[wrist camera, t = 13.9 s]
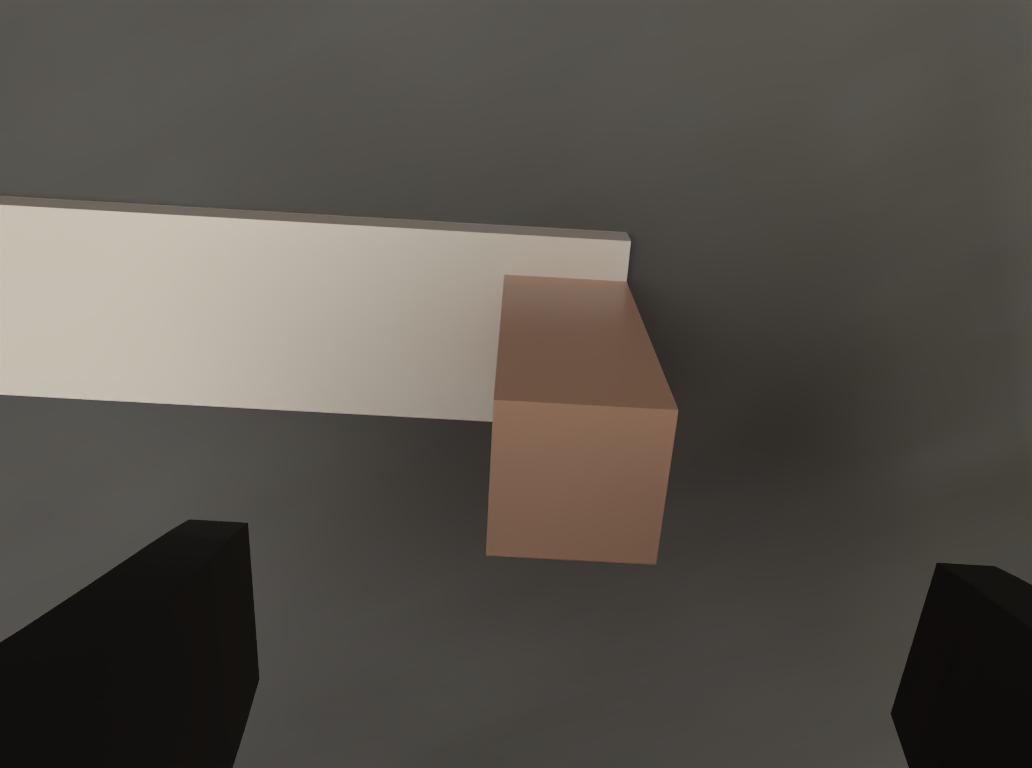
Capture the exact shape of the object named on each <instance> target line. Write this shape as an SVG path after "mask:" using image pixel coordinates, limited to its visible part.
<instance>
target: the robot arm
mask: <svg viewBox="0 0 1032 768" xmlns="http://www.w3.org/2000/svg"><path fill="white" fill-rule="evenodd" d="M258 682H259V668H258V654H257V641H256V627H255V613H254V600H253V586H252V572H251V559H250V545H249V532H248V523H241V522H223V521H206V520H188V521H186V522H184V523H182V524H181V525H179V526H177V527H176V528H174V529H172V530H171V531H169V532H167V533H166V534H164V535H163V536H161V537H160V538H158V539H157V540H155V541H154V542H152V543H150V544H149V545H147V546H146V547H144V548H143V549H141V550H140V551H138V552H137V553H135V554H134V555H133V556H131V557H130V558H128V559H127V560H125V561H124V562H122V563H121V564H119V565H118V566H116V567H115V568H113V569H112V570H110V571H109V572H107V573H106V574H104V575H103V576H101V577H100V578H98V579H97V580H95V581H94V582H92V583H91V584H89V585H88V586H86V587H85V588H83V589H82V590H80V591H79V592H77V593H76V594H74V595H73V596H71V597H70V598H68V599H67V600H65V601H64V602H62V603H61V604H59V605H57V606H56V607H54V608H53V609H51V610H50V611H48V612H47V613H45V614H44V615H42V616H41V617H39V618H38V619H36V620H35V621H33V622H32V623H30V624H29V625H27V626H26V627H24V628H23V629H21V630H19V631H18V632H16V633H15V634H13V635H12V636H10V637H8V638H7V639H5V640H3V641H2V642H0V768H233V764H234V761H235V758H236V755H237V752H238V749H239V745H240V742H241V739H242V736H243V733H244V730H245V726H246V723H247V719H248V716H249V712H250V709H251V706H252V702H253V699H254V695H255V692H256V688H257V685H258ZM891 716H892V719H893V722H894V725H895V728H896V731H897V734H898V737H899V739H900V742H901V745H902V748H903V751H904V754H905V757H906V760H907V763H908V766H909V768H1032V585H1031V584H1029V583H1027V582H1025V581H1023V580H1021V579H1019V578H1018V577H1016V576H1014V575H1012V574H1010V573H1008V572H1006V571H1004V570H1002V569H1000V568H997V567H995V566H982V565H965V564H948V563H937V564H936V567H935V571H934V574H933V577H932V580H931V584H930V587H929V590H928V594H927V597H926V600H925V603H924V607H923V610H922V613H921V616H920V620H919V623H918V626H917V630H916V633H915V636H914V639H913V643H912V646H911V649H910V652H909V656H908V659H907V662H906V665H905V669H904V672H903V675H902V679H901V682H900V685H899V688H898V692H897V695H896V698H895V701H894V705H893V708H892V711H891Z"/></svg>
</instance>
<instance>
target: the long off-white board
mask: <svg viewBox="0 0 1032 768" xmlns="http://www.w3.org/2000/svg"><path fill="white" fill-rule="evenodd" d="M630 246H631V240H630V238H629V236H628V234H627V232H617V231H600V230H582V229H565V228H548V227H531V226H514V225H496V224H479V223H462V222H445V221H428V220H410V219H393V218H376V217H359V216H342V215H324V214H307V213H290V212H273V211H256V210H238V209H221V208H204V207H187V206H170V205H152V204H135V203H118V202H101V201H84V200H67V199H49V198H32V197H15V196H0V395H17V396H35V397H53V398H71V399H89V400H108V401H126V402H144V403H162V404H180V405H199V406H217V407H235V408H253V409H271V410H289V411H308V412H326V413H344V414H362V415H380V416H398V417H417V418H435V419H453V420H471V421H489V422H492V441H491V461H490V481H489V501H488V521H487V541H486V556H504V557H523V558H542V559H561V560H579V561H598V562H617V563H636V564H655V565H656V561H657V554H658V547H659V540H660V534H661V527H662V520H663V513H664V506H665V499H666V493H667V486H668V479H669V472H670V465H671V458H672V452H673V445H674V438H675V431H676V424H677V417H678V408H677V405H676V403H675V400H674V398H673V395H672V393H671V390H670V388H669V385H668V383H667V380H666V378H665V375H664V373H663V370H662V368H661V365H660V363H659V361H658V358H657V356H656V353H655V351H654V348H653V346H652V343H651V341H650V338H649V336H648V333H647V331H646V328H645V326H644V323H643V321H642V318H641V316H640V314H639V311H638V309H637V306H636V304H635V301H634V299H633V296H632V294H631V291H630V289H629V286H628V284H627V273H628V264H629V255H630Z"/></svg>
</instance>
